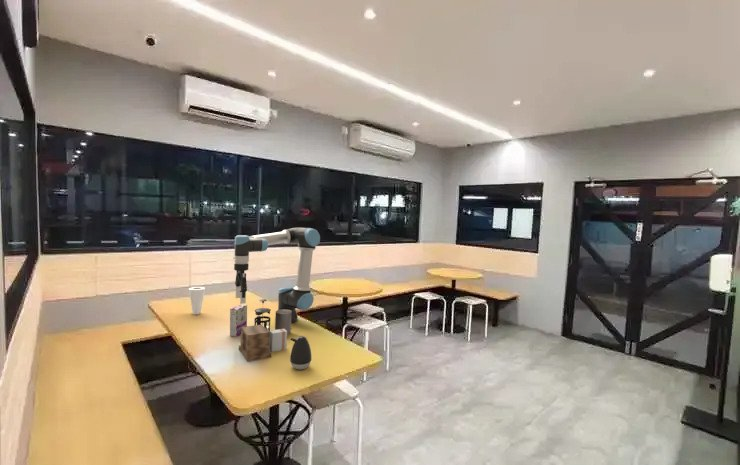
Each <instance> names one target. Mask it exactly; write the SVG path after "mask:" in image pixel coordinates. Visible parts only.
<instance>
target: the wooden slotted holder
mask: <svg viewBox="0 0 740 465" xmlns="http://www.w3.org/2000/svg"><path fill="white" fill-rule="evenodd" d="M238 351H239V352H240V354H241V355H242V356H243V357H244V359H245V361H246V362H252V361H257V360H262V359H263V360H265V359H267V358H272V351H271V350H270V332H269V331H268V330H267V329H266V328H265V327H264V324H263V325H262V324H261V325H257V324H256V325H247V327H241V335H240V345H238Z"/></svg>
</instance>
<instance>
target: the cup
mask: <svg viewBox="0 0 740 465" xmlns="http://www.w3.org/2000/svg"><path fill="white" fill-rule="evenodd" d="M205 291H206V286H205V287H204V286H192V287H189V288H188V293H189V298H190V306H191V310H192V315H199V314H201V313H202V307H203V303H204V296H205Z"/></svg>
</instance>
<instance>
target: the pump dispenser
mask: <svg viewBox="0 0 740 465" xmlns="http://www.w3.org/2000/svg"><path fill="white" fill-rule="evenodd" d="M290 341H292V342H294V343H293V345H292V348H291V352H290V356H289V360H290V364H291V366H292V367H293V369H296V370H299V371H301V370H305V369H307V368H308V367H309V366H310V365H311V362H312V351H311V346H310V344H309V341H308V338H307V337H306V336H303V335H301V336H298V337H297V338H293V337H291V338H290Z"/></svg>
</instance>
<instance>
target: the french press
mask: <svg viewBox="0 0 740 465" xmlns="http://www.w3.org/2000/svg"><path fill="white" fill-rule="evenodd" d="M258 301H259V302H261V303H262V304H264V303H265V302H267V301H268V300H267V299H265V298H264V299H260V300H258ZM271 310H272V309H270V308H267V307H261V308H256V309H255V310H254V312H255V315H256V317H254V319H253V320H254V323H253V324H254V325H263V326H264V327H265V328H266V329H267V330H268V331H269V332H270V331H271V317H270V316H267V315H264V314H265V313H267V314H269V315H270V313H271ZM261 315H262V316H261ZM264 319H265V320H264ZM254 325H253V326H254Z"/></svg>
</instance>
